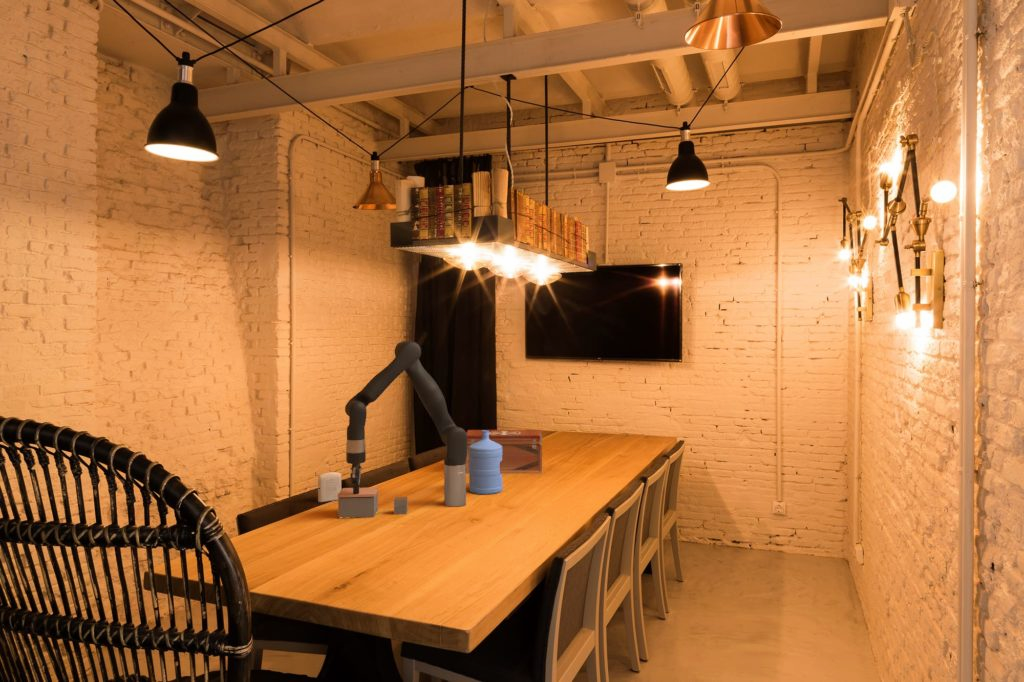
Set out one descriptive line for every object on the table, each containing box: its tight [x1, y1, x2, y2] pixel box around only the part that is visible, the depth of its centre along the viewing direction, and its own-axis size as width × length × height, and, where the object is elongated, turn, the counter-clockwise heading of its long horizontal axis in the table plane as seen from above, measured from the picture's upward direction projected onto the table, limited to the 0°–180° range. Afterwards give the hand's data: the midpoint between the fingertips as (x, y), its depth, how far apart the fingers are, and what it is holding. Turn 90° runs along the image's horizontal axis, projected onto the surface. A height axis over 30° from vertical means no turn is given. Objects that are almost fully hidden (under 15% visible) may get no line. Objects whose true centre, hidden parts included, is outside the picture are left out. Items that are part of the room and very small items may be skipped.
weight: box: [393, 496, 408, 515], centre depth 278 cm, size 5×5×6 cm
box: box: [337, 490, 379, 519], centre depth 277 cm, size 14×12×8 cm
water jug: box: [468, 429, 504, 495], centre depth 316 cm, size 16×16×28 cm
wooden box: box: [466, 429, 543, 475], centre depth 364 cm, size 20×41×20 cm, turn 89°
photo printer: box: [317, 471, 342, 503], centre depth 300 cm, size 10×4×12 cm, turn 123°
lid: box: [337, 486, 379, 498], centre depth 277 cm, size 15×12×1 cm
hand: (356, 493), depth 272 cm, fingers closed
